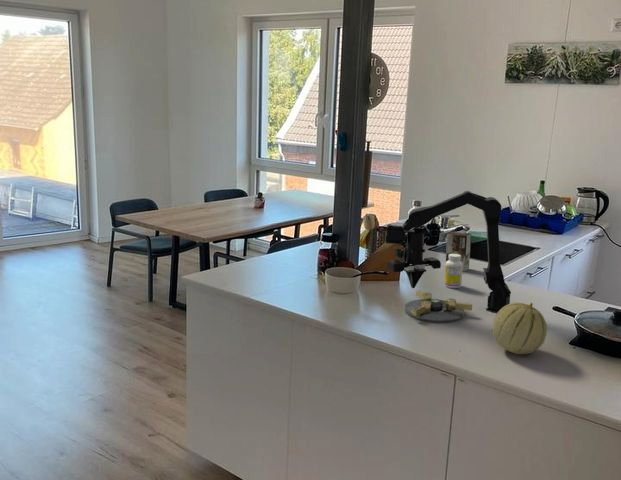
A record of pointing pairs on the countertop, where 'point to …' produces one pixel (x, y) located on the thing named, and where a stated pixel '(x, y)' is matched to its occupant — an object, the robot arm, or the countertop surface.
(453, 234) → the coffee box
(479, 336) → the countertop surface
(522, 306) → the cantaloupe
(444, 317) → the tribrach plate
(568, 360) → the countertop surface
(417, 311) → the knob
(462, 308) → the knob
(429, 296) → the knob
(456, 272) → the supplement bottle
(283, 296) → the countertop surface
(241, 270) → the countertop surface
